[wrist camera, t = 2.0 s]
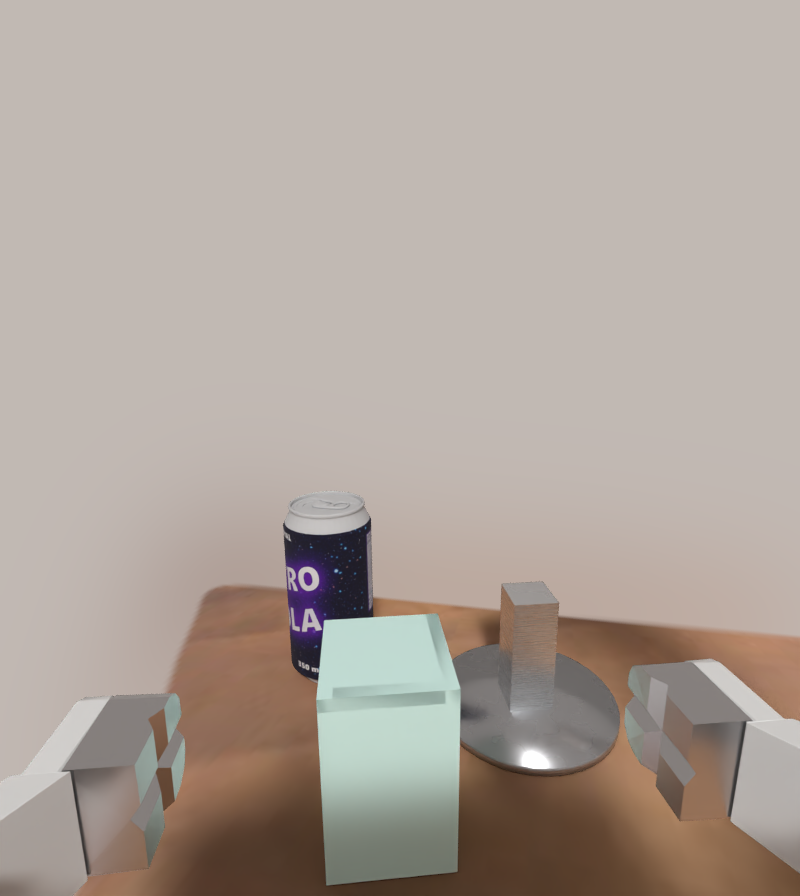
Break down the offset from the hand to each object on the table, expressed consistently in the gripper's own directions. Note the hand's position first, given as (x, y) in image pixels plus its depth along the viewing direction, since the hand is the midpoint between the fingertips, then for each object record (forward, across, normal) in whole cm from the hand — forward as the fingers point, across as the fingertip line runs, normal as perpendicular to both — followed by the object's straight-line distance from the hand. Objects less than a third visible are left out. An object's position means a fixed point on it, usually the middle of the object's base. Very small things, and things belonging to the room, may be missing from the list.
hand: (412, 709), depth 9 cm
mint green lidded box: (+12, 0, +16) cm, 20 cm away
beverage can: (+24, +3, +16) cm, 29 cm away
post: (+19, -9, +16) cm, 27 cm away
